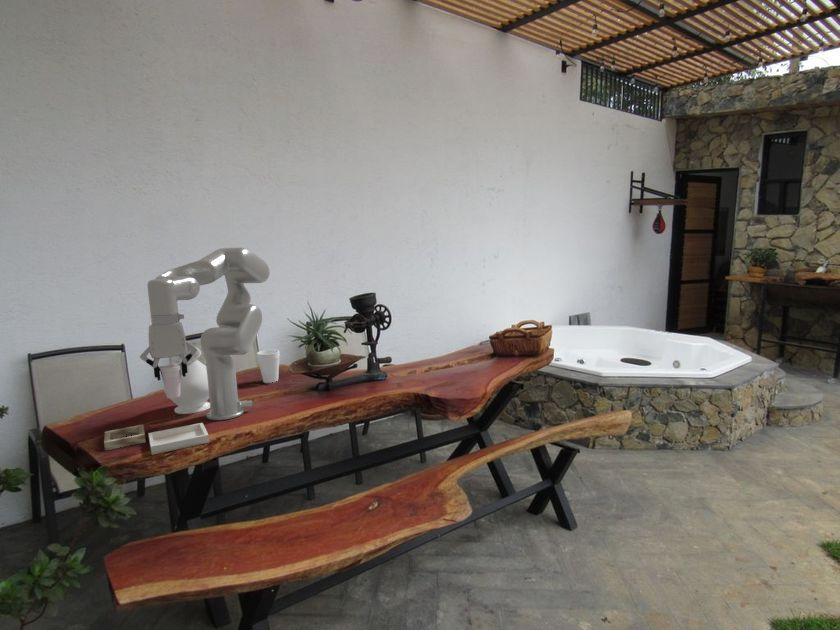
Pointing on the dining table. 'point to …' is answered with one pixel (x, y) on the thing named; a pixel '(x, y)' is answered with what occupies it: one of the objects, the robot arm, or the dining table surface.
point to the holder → (124, 437)
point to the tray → (178, 438)
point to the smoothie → (171, 379)
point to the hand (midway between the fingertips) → (171, 377)
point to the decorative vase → (192, 385)
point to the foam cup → (269, 365)
